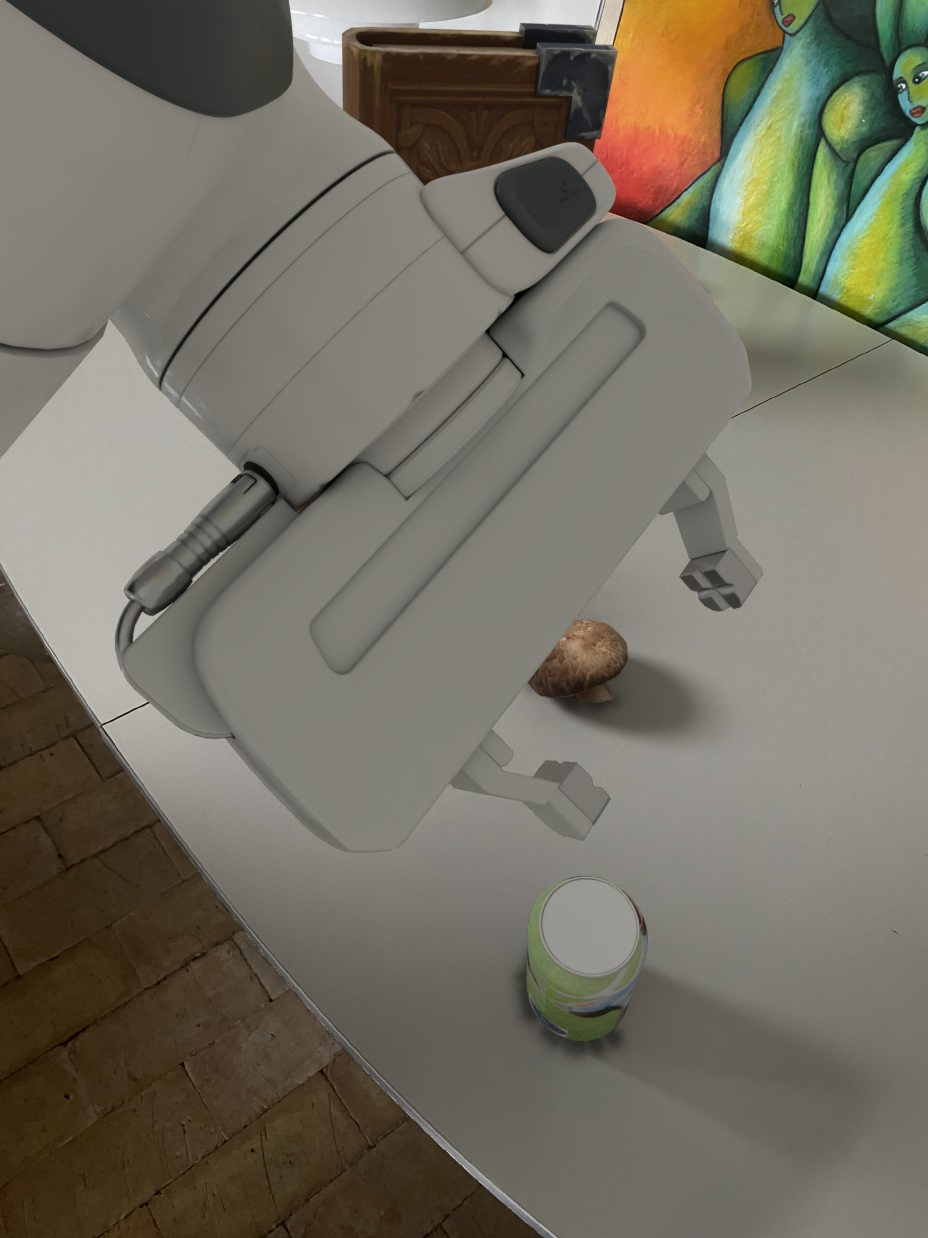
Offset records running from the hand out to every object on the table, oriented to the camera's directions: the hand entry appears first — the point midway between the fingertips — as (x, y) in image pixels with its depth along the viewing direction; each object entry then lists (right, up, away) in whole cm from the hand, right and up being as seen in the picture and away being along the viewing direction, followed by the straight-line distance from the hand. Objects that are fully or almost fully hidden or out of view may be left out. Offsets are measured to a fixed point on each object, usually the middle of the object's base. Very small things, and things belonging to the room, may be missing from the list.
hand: (667, 700), depth 27 cm
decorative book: (-8, +33, +71) cm, 79 cm away
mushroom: (+2, -3, +40) cm, 40 cm away
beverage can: (-1, -20, +24) cm, 32 cm away
